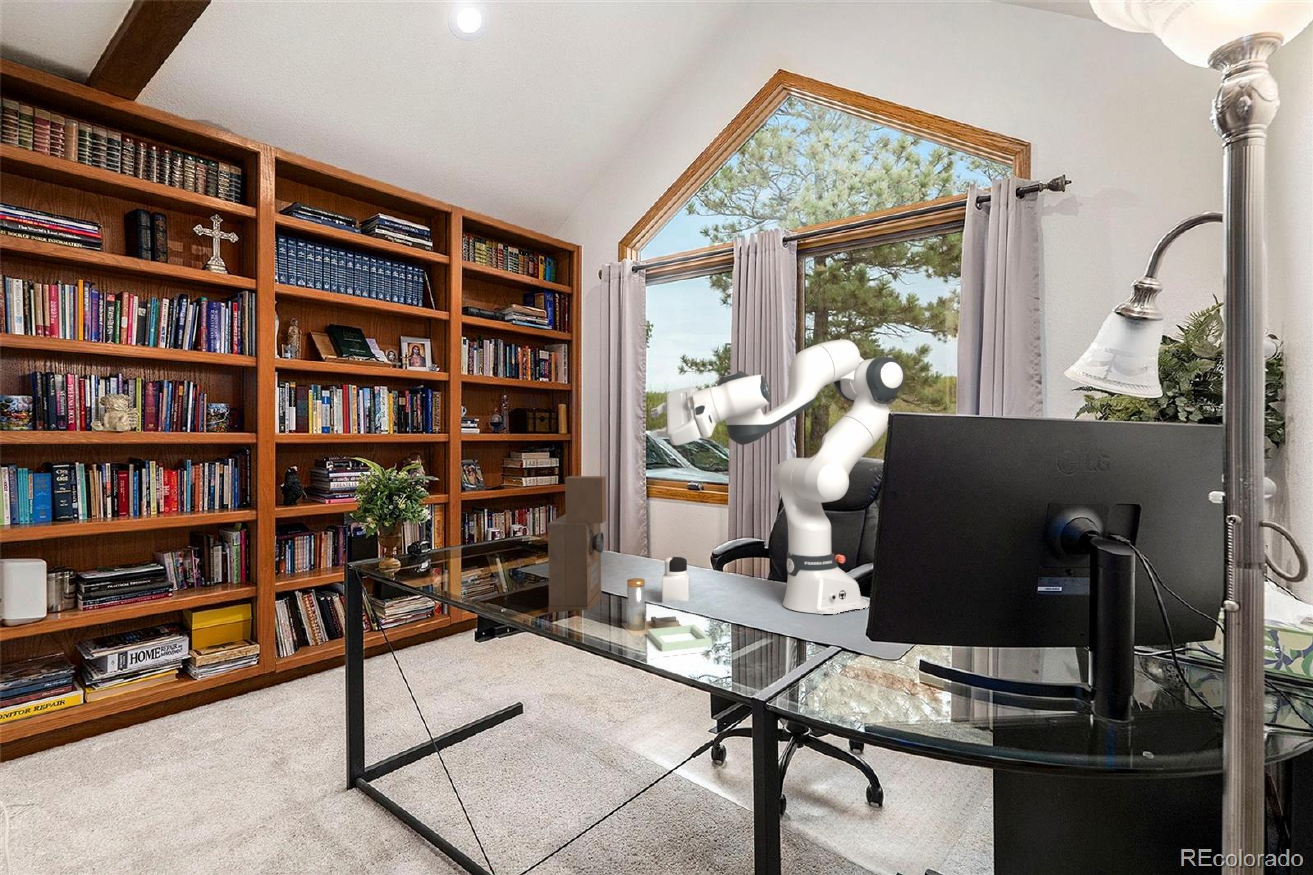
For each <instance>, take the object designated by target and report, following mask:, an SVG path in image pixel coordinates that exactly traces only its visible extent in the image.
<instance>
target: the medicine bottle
mask: <svg viewBox="0 0 1313 875" xmlns="http://www.w3.org/2000/svg"><path fill="white" fill-rule="evenodd" d="M690 582H691V581H690V573H689V572H688V561H687V559H686V558H684V557H681V556H670V557H667V558H666V559H665V560H664V573H663V575H662V578H661V599H662V600H661V604H662V603H672V602H673V603H675V602H689V601H690V598H691V597H690V596H691V592H690V591H691V588H690V585H691V584H690Z"/></svg>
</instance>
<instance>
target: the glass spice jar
mask: <svg viewBox="0 0 1313 875" xmlns="http://www.w3.org/2000/svg"><path fill="white" fill-rule="evenodd" d="M626 584H627V585H626V587H627V589H626V590H627V623H628V630H631V631H641V630H644V629H645V621H646V594H645V592H646V588H645V586H646V585H645V584H646V582H645V579H644V578H641V577H632V578H628V579H627V583H626Z"/></svg>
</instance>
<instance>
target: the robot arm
mask: <svg viewBox="0 0 1313 875" xmlns="http://www.w3.org/2000/svg"><path fill="white" fill-rule="evenodd" d="M905 377H906V372H905V368H904V366H903V365H902V363H901V362H900V361H899V360H897V359H896V358H893V357H889V356H878V357H875V358H868V359H864V358H862V356H861V354H860V349H859V348H858V346H857V345H856V344H855V342H853V341H851V340H849V339H844V338H842V339H835V340H828V341H824V342H821V343H817V344H814V345H811V346H810V347H806V348H805V349H803V350H801V351H799V352H798V353H796V355H794V357H793V359H792V361H791V363H790V366H789V371H788V386H787V387H788V388H787V394H786V397H785V400H784V401H783V403H781V404H779V405H778V406H776V407H774V408H773V409H771V410H769V411H768V412H766V413H765V414H764V413H763V411H762V408H764V407H767V405H769V404H770V403H771V398H772V397H771V391H770V390H771V389H770V387H769V384H768V381H767V380H766V377H764V375H762V374H754V375H749V374H747V373H746V372H744V371H742V370H739V371H737V372H735V373H732V374H728V375H724V376H720V379H719V380H718V382H717V384H716V386H709V387H706V388H698V387H691V386H689V387H688V386H687V387H683V388H679V389H674V390H672V391H669V392H667V394H666V401H665V402H662V403H660V404H659V405H657V407H654V408H652V409H650V415H651V418H657V417H660V415H661V414H662V413H664V412H666V421H667V424H666V425H667V426H665V427H663V428H662V429H660V428H659V429H658V428H657V427H654V428H652V429H650V436H651V439H657V438H665V439H667V438H668V440H669V442H670V443H671V445H673V446H681V445H684V444H688V443H691V442H694V441H697V440H699V439H700V438H701V437H702V438H703V439H708V438H710V437H711V436H712V435H713V432H714V430H715V428H716V426H717V424H718V423H721V422H724V421H725V424H726V425H725V427H726V432H727V436H728V438H729V439H730V440H731V441H733V442H735V443H736V444H737V445H740V446H742V445H743V446H745V445H750V444H753V443H755V442H757V441H759V440H760V439H762V438H763V437H764V436H766V435H767V434H769V433H770V432H772V431H773V430H774V429H776V428H777V427H779V426H780V425H782V424H784V423H785V422H788V421H789V420H790V419H792V418H793V417H795V416H797V415H799V413H801V412H803V411H805V410H806V409H808V408H810V407H811V406H812V405H813V404H814V403H815V401H816V397H817V395H818V393H819V392H820V391H821V390H822V389H823V388H824V387H826V386H827V385H829V384H832V383H833V386H834V388H835V391H836V392H837V394H838V396H839V397H840V398H841V399H843V400H845V401H848V402H853V405H852V406H851V408H850V409H849V410H848V411H847V412H846V413H845V415H843V416H842V417H841V418H840V419H839V420H838V421H837V422H836V423H835V424H834V425H833V426H832V427H830V428H829V430H828V431H827V432H826V433H825V434H824V435H823V437H822V439H821V447H820V448H819V450H818V451H817V453H816V454H814V455H813V456H811V457H810V458H806V457H805V458H804V457H792V458H788V459H786V460H785V459H784V461H781V462H780V463H779V464H777V465H776V467H775V469H774V472H773V476H772V478H773V483H774V485H775V487H776V488H775V489H777V491H779V494H780V497H781V500H782V503H783V508H784V510H785V516H786V521H787V532H788V534H787V536H788V538H787V540H788V541H787V543H788V544H787V545H788V550H787V552H786V571H787V582H786V587H785V588H786V589H785V594H784V598H783V600H782V601H783V602H782V606H783V607H784V608H786V609H789V610H791V611H792V610H793V611H796V612H800V613H810V614H817V615H823V614H833V615H837V613H838V614H841V613H840V612H843V611H848V610H852V609H860V610H864V609H863V608H865V607H866V608H865V609H869V608H868V605H869V604H870V602H869V601H868V600H867V599H865V598H863V597H862V595H861V591H860V587H859V586H860V585H859V584H858V582H857V581H856V579H854V578H853V577H851V576H850V575H849V574H848V573H847V572H845V571H844V570H842V569H841V568H840V567H839V566H838V563H840V564H844V563H845V562H846V556H844V555H841V554H835V553H833V552H832V524H831V521H830V520H829V518H828V517H827V515H826V513H825V511H824V509H823V505H822V503H829V502H830V503H831V502H835V501H838V500H840V499H842V498H843V497H844V496H845V495H846V493H847V492H848V490H849V487H850V479H849V478H850V476H849V475H850V473H851V472H852V470H853V468H854V466H855V465H856V464H857V462H858V461H859V460H860V459H862V458H863V457H864V455H865V454H866V453H867V452H868V451H869V450H870V449H871V448H872V447H873V446H874V445H875V444H876V443H877V442H878V441H879V439H880V438H881V437H882V436H883V434H884V433H885V431H886V430H887V428H888V427H887V421H888V414H889V413H891V414H892V412H891V410H890V408H889V407H888V405H889V404H892V403H894V402H895V401H896V400H897V397H898V394H899V392H900V391H901V390H902V387H903V385H904V383H905V379H906V378H905Z"/></svg>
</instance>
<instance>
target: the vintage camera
mask: <svg viewBox="0 0 1313 875" xmlns="http://www.w3.org/2000/svg"><path fill="white" fill-rule="evenodd" d="M606 478H607V477H606V475H599V476H598V475H595V476H594V475H593V476H592V475H590V476H589V475H586V476H585V475H584V476H582V475H576V476H575V475H573V476H571V475H570V476H567V477H564V479H565V481H564V485H565V486H564V488H565V489H564V490H565V493H564V494H565V497H564V500H565V502H564V503H565V513H564V514H563V515H560V516H559V517H557V518H555V519H554V520H552V521H550V522H548V523H547V544H548V545H547V547H548V548H547V550H548V551H547V554H548V613H549V614H550V613H561V612H573V611H588V610H592V609H593V608H594V607H595V606H596V604H597V603H598V601H599V600H600V599H601V597H602V596H601V595H602V593H603V592H602V575H601V574H602V572H601V571H602V565H601V564H602V562H601V561H602V560H601V554H602V553H603V551H604V547H605V545H604V544H605V540H604V539H605V538H604V533H603V532H602V531H601V524H604V523H605V522H606V521H607V500H606V499H607V494H606V493H607V492H606V491H607V490H606V489H607V488H606V487H607V486H606V485H607V482H606V481H607V480H606Z"/></svg>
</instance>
